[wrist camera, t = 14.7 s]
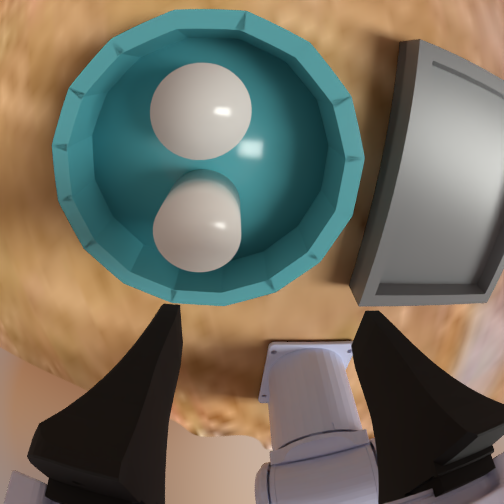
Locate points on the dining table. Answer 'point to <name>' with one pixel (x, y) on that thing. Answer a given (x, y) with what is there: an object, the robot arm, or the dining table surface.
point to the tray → (436, 187)
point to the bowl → (229, 164)
